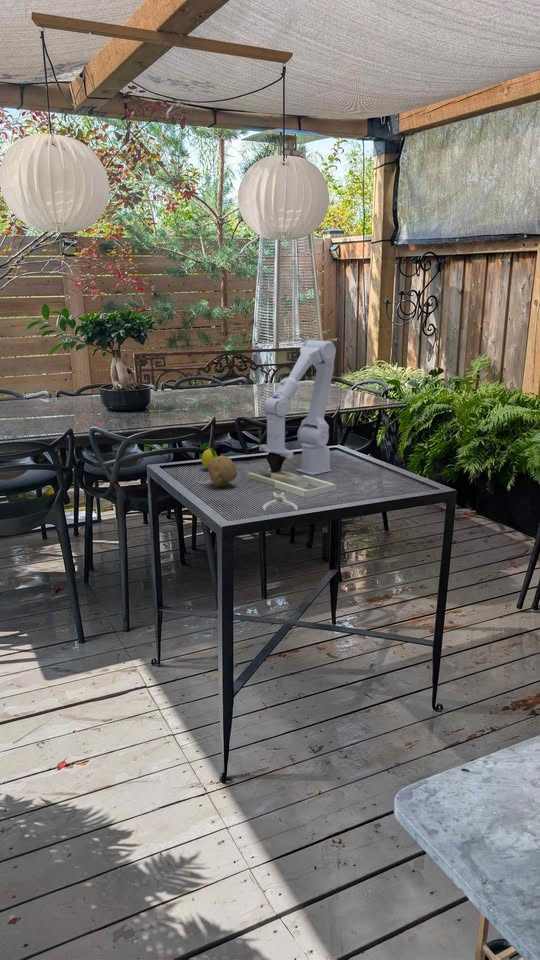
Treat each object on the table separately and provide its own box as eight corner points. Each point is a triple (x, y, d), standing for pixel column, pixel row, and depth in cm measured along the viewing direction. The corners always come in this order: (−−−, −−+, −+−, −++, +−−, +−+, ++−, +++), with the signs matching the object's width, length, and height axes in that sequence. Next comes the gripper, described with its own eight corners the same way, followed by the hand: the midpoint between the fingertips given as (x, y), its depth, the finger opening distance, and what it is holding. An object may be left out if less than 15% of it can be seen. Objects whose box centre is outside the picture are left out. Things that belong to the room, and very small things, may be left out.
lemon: (200, 468, 244) (200, 439, 241) (217, 467, 244) (217, 439, 242) (200, 472, 237) (200, 443, 235) (218, 472, 238) (217, 443, 235)
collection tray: (304, 481, 227) (304, 475, 227) (335, 490, 216) (336, 484, 216) (274, 487, 219) (274, 481, 219) (306, 497, 209) (306, 491, 208)
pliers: (262, 506, 196) (261, 492, 210) (262, 512, 196) (261, 497, 211) (298, 506, 196) (294, 491, 211) (298, 511, 197) (294, 496, 211)
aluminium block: (295, 483, 225) (295, 474, 224) (308, 487, 220) (308, 478, 219) (284, 486, 222) (284, 477, 221) (296, 490, 217) (296, 481, 216)
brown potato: (237, 482, 225) (237, 452, 222) (236, 490, 216) (236, 459, 214) (209, 482, 225) (208, 452, 222) (207, 490, 216) (206, 459, 214)
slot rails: (270, 472, 238) (270, 468, 237) (300, 481, 227) (300, 477, 226) (247, 477, 232) (247, 473, 231) (276, 486, 221) (276, 482, 220)
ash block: (282, 479, 229) (282, 470, 228) (294, 483, 224) (295, 474, 224) (271, 482, 226) (271, 473, 225) (283, 486, 221) (283, 476, 221)
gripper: (252, 433, 227) (252, 473, 231) (281, 440, 217) (280, 482, 220) (268, 430, 232) (268, 470, 235) (298, 437, 221) (297, 478, 224)
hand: (275, 476), depth 228 cm, fingers closed
